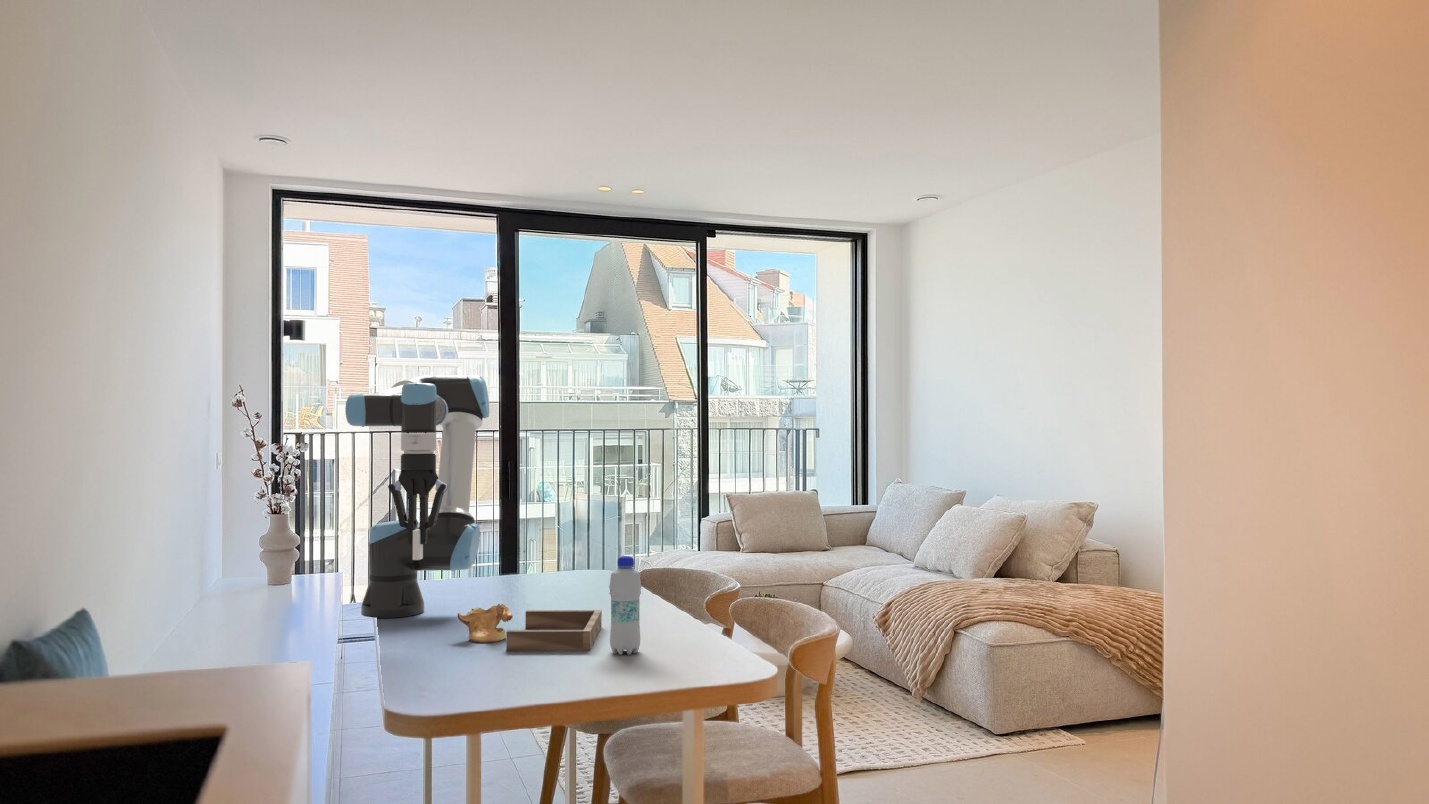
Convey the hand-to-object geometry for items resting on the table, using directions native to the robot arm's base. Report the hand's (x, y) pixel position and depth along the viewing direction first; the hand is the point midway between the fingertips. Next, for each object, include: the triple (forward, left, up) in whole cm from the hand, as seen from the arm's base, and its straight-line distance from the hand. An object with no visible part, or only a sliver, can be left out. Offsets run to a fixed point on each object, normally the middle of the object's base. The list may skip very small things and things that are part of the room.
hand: (417, 559), depth 217 cm
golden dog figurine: (+1, +15, -18) cm, 24 cm away
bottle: (+14, +47, -18) cm, 52 cm away
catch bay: (0, +30, -18) cm, 35 cm away
